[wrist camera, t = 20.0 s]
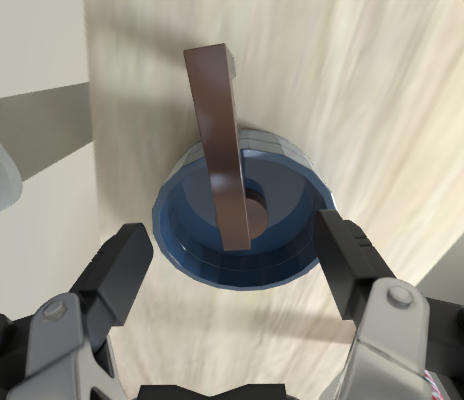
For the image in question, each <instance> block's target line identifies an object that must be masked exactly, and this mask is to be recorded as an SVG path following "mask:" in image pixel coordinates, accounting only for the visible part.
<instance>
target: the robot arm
mask: <svg viewBox="0 0 464 400" xmlns="http://www.w3.org/2000/svg"><path fill="white" fill-rule="evenodd" d="M313 245H314V249H315V252H316V254H317V257H318V259H319V262H320V264H321V267H322V269H323V272H324V274H325V277H326V280H327V282H328V285H329V287H330V290H331V292H332V295H333V297H334V300H335V302H336V305H337V307H338V310H339V312H340V315H341V317H342V320H353V321H354V323H355V326H356V328H357V329H356V332H355V335H354V338H353V341H352V344H351V347H350V350H349V353H348V357H347V360H346V363H345V366H344V369H343V372H342V375H341V378H340V381H339V384H338V387H337V390H336V393H335V396H334V399H333V400H432V386H431V383H430V381H429V380H428V379H426V378H425V370H428V371H432V372H435V373H436V374H437V376H438V378H439V379H440V381H441V383H442V385H443V386H444V388H445V390H446V392H447V393H448V395H449V397H450V399H451V400H464V304H463V305H459V304H454V303H449V302H445V301H440V300H435V299H431V298H428V297H425V296H424V295H423V294H422V293H421V292H420V291H419V290H418V289H417V288H415V287H414V286H412V285H411V284H409V283H407V282H405V281H403V280H400V279H397V278H396V277H395V275H394V274H393V273H392V271H391V270H390V268H389V267H388V266H387V264H386V263H385V261H384V260H383V259H382V257H381V256H380V254H379V253H378V252H377V250H376V249H375V247H374V246H372V243H371V242H370V240H369V239H368V238H367V236H366V235H365V233H364V232H363V231H362V229H361V228H360V227H359V226H357V225H356V224H355V223H353V222H352V221H350V220H343V219H342V218H341V216H340V215H339V213H338V212H337V210H336V209H329V210H317V211H316V215H315V223H314V232H313ZM152 258H153V246H152V243H151V241H150V239H149V236H148V234H147V231H146V229H145V227H144V225H143V224H142V223H128V224H124V225H123V226H122V227H121V228H120V230H119V231H118V233H117V234H116V235H113V236H112V237H111V238H110V239H109V240H107V241H106V242H105V243H104V244H103V245H102V247H101V248H100V249H99V251H98V252H97V254H96V255H95V256H94V258H93V259H92V262H90V263H89V264H88V266H87V267H86V268H85V270H84V271H83V273H82V274H81V275H80V277H79V278H78V279H77V281H76V282H75V284H74V285H73V286H72V288H71V289H70V290H69V292H67V293H62V294H59V295H57V296H55V297H53V298H51V299H50V300H48V301H47V302H46V303H44V304H43V305H42V306H41V307H40V308H39V309H38V310H37V312H36V313H35V314H33V315H30V316H27V317H24V318H21V319H18V320H15V321H11V320H10V319H9V318H7V317H6V316H5V315H4V314H0V400H128V398H127V396H126V393H125V391H124V390H123V388H122V385H121V383H120V379H119V375H118V370H117V366H116V361H115V357H114V352H113V348H112V343H111V339H110V336H109V335H108V333H109V331H110V329H111V327H112V326H124V323H125V321H126V319H127V316H128V314H129V312H130V309H131V307H132V305H133V302H134V300H135V298H136V296H137V293H138V291H139V289H140V286H141V284H142V282H143V279H144V277H145V275H146V272H147V270H148V268H149V265H150V263H151V261H152ZM132 400H299V399H297V398H295V397H293V396H290V395H287V394H286V390H285V384H247V385H244V386H241V387H238V388H235V389H232V390H229V391H227V392H224V393H221V394H218V395H215V396H211V397H208V396H205V395H202V394H199V393H196V392H194V391H191V390H188V389H185V388H182V387H180V386H177V385H141V387H140V390H139V394H138V397H137V398H134V399H132Z"/></svg>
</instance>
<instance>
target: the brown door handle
mask: <svg viewBox="0 0 464 400" xmlns="http://www.w3.org/2000/svg"><path fill="white" fill-rule="evenodd" d="M183 53H184V58H185V63H186V67H187V72H188V77H189V82H190V87H191V92H192V97H193V102H194V106H195V111H196V116H197V121H198V126H199V131H200V136H201V141H202V145H203V150H204V155H205V160H206V165H207V170H208V175H209V179H210V184H211V189H212V194H213V199H214V204H215V209H216V217H215V220H216V225H217V227H218V229H219V231H220V233H221V238H222V243H223V248H224V251H231V250H245V249H251V240H252V239H255V238H257V237H258V236H260V235H261V234H262V233H263V232H264V231H265V229H266V228H267V225H268V221H269V217H268V211H267V205H266V202H265V200H264V199H263V197H262V196H261V195H260V194H259V193H257V192H256V191H253V190H251V189H247V188H245V185H244V177H243V169H242V160H241V152H240V144H239V136H238V127H237V119H236V111H235V103H234V94H233V86H232V78H234V77H235V67H234V58H233V56H232V54H231V53H230V51H229V50H228V48H227V46H226V44H225V43H222V44H217V45H211V46H205V47H199V48H194V49H188V50H184V51H183Z"/></svg>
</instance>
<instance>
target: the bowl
mask: <svg viewBox="0 0 464 400" xmlns="http://www.w3.org/2000/svg"><path fill="white" fill-rule="evenodd" d="M238 136H239V144H240V152H241V160H242V169H243V177H244V185H245V188H247V189H251V190H253V191H256V192H257V193H259V194H260V195H261V196H262V197H263V199H264V200H265V202H266V205H267V211H268V217H269V221H268V225H267V228H266V229H265V231H264V232H263V233H262V234H261V235H260V236H258V237H257V238H255V239H252V240H251V249H245V250H231V251H224V248H223V243H222V238H221V233H220V231H219V229H218V227H217V225H216V220H215V217H216V209H215V204H214V199H213V194H212V189H211V184H210V179H209V175H208V170H207V165H206V160H205V155H204V150H203V145H202V141H200V142H198V143H197V144H195V145H194V146H192V147H191V148H190V149H189V150H188V151H187V152H186V153H185V154H184V155H183V156H182V157H181V159H180V160H179V161H178V162H177V163H176V164H175V166H174V167H173V169H172V171H171V172H170V174H169V176H168V177H167V179H166V181H165V182H164V184H163V186H162V187H161V189H160V192H159V194H158V197H157V199H156V202H155V204H154V207H153V209H152V221H153V234H154V236H155V239H156V241H157V243H158V245H159V248H160V250H161V252H162V253H163V254H164V256H165V257H166V258H167V259H168V260H169V261H170V262H171V263H172V264H173V265H174V266H175V268H177V269H178V270H180V271H181V272H183V273H184V274H186V275H188V276H189V277H191V278H192V279H194V280H196V281H199V282H201V283H204V284H207V285H210V286H213V287H216V288H221V289H228V290H235V291H252V290H265V289H269V288H273V287H277V286H281V285H285V284H287V283H289V282H291V281H293V280H295V279H297V278H299V277H301V276H303V275H305V274H307V273H308V272H309V271H310V270H311V269H313V268H314V267H315V266H316V265H317V264H318V263H319V259H318V257H317V254H316V252H315V249H314V245H313V232H314V223H315V215H316V211H317V210H329V209H336V206H335V203H334V199H333V196H332V193H331V191H330V190H329V188H328V186H327V185H326V183H325V182H324V180H323V179H322V177H321V176H320V174H319V173H318V171H317V169H316V168H315V167H314V166H313V164H312V163H311V162H310V161H309V159H308V158H307V157H306V155H305V154H304V153H303V152H302V151H301V150H300V149H299V148H298V147H296V146H295V145H293V144H292V143H291V142H289V141H287V140H285V139H284V138H282V137H280V136H277V135H274V134H271V133H269V132H264V131H259V130H250V129H239V130H238Z"/></svg>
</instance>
